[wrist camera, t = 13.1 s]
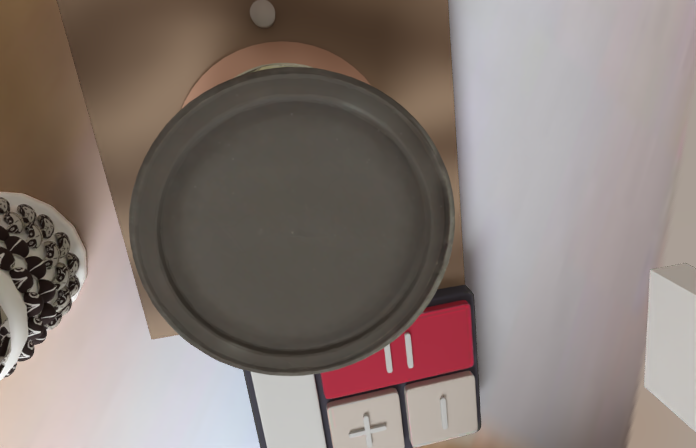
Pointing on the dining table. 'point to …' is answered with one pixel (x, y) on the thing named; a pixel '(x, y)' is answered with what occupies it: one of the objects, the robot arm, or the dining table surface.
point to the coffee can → (291, 220)
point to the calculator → (382, 389)
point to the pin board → (241, 55)
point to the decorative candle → (34, 274)
